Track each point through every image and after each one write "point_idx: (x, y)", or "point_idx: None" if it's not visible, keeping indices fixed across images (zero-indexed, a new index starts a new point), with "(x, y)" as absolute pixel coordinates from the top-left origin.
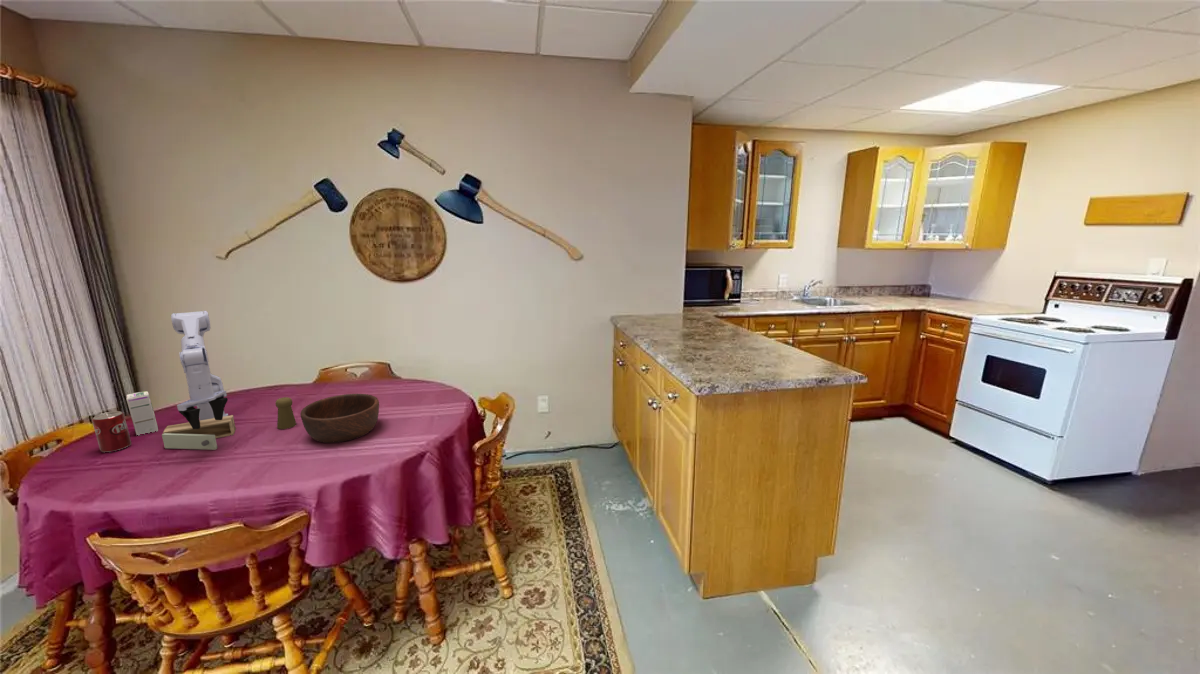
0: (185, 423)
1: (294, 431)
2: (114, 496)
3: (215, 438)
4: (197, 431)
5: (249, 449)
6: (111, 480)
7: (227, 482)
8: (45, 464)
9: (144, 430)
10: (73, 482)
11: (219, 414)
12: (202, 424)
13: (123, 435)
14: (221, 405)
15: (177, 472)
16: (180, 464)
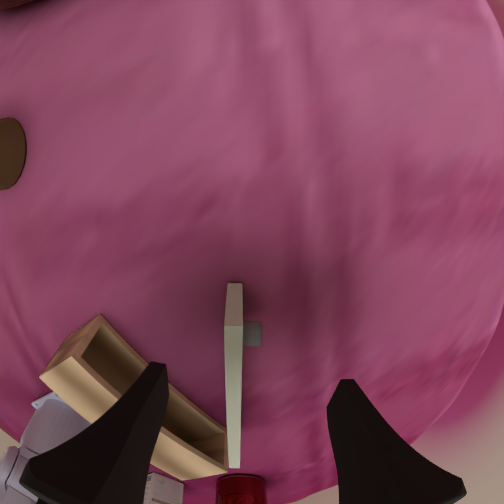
0: (152, 461)
1: (42, 71)
2: (486, 315)
3: (225, 311)
4: None
5: (224, 118)
6: (410, 391)
7: (471, 53)
8: (303, 496)
9: (171, 486)
10: None
11: (152, 404)
12: None
13: (241, 500)
14: (112, 462)
15: (416, 273)
16: (359, 314)
